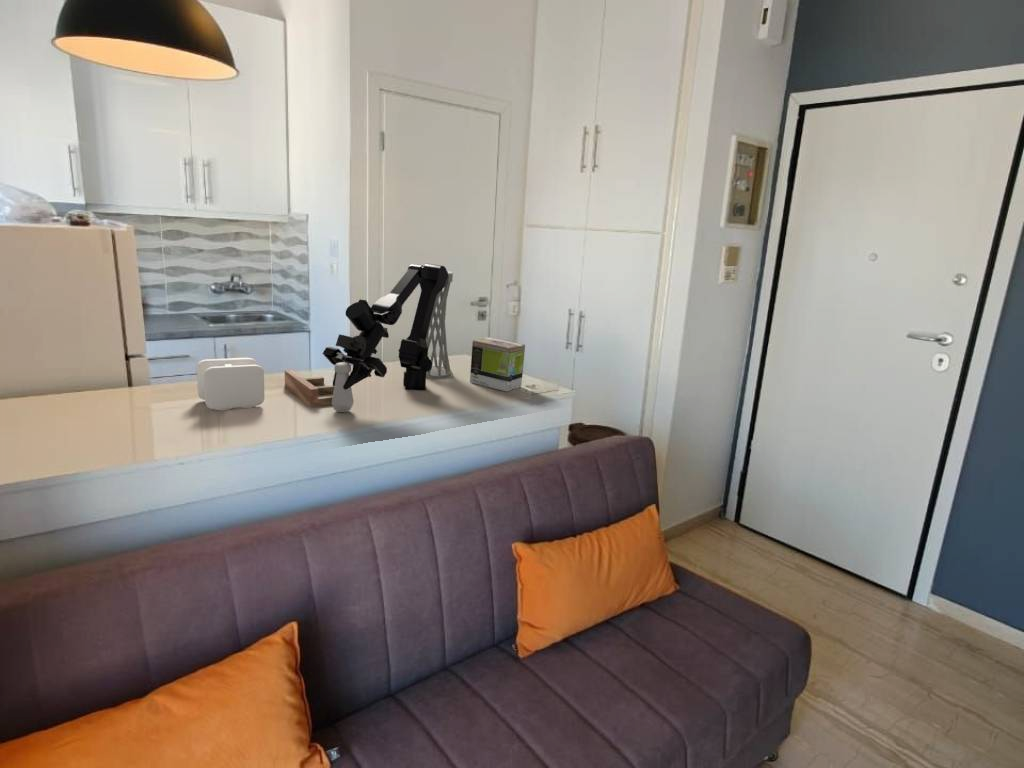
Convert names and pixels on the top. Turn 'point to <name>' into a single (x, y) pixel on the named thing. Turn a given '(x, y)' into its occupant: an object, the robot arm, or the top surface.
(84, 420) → the top surface
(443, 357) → the grey lattice tower
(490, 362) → the tea box
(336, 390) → the salt shaker
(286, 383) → the wooden letter e
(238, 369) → the cable organizer
